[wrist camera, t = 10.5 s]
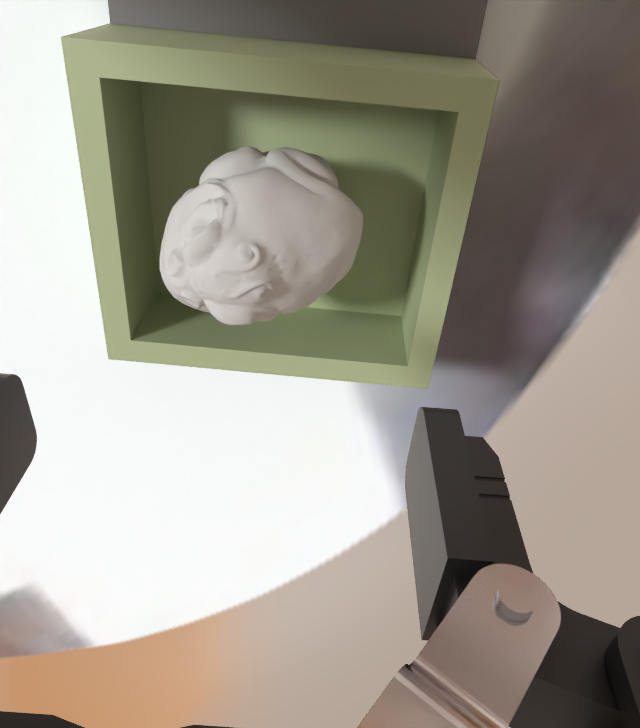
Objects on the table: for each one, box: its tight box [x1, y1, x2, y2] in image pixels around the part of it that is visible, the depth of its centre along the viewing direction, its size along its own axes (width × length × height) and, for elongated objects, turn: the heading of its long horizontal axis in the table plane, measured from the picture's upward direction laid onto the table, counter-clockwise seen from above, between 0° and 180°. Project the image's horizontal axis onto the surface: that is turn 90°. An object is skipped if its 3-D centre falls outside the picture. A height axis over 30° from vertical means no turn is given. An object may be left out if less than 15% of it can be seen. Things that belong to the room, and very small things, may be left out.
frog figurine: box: [160, 146, 363, 325], centre depth 21 cm, size 6×7×7 cm
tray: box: [61, 0, 500, 389], centre depth 22 cm, size 14×13×5 cm
